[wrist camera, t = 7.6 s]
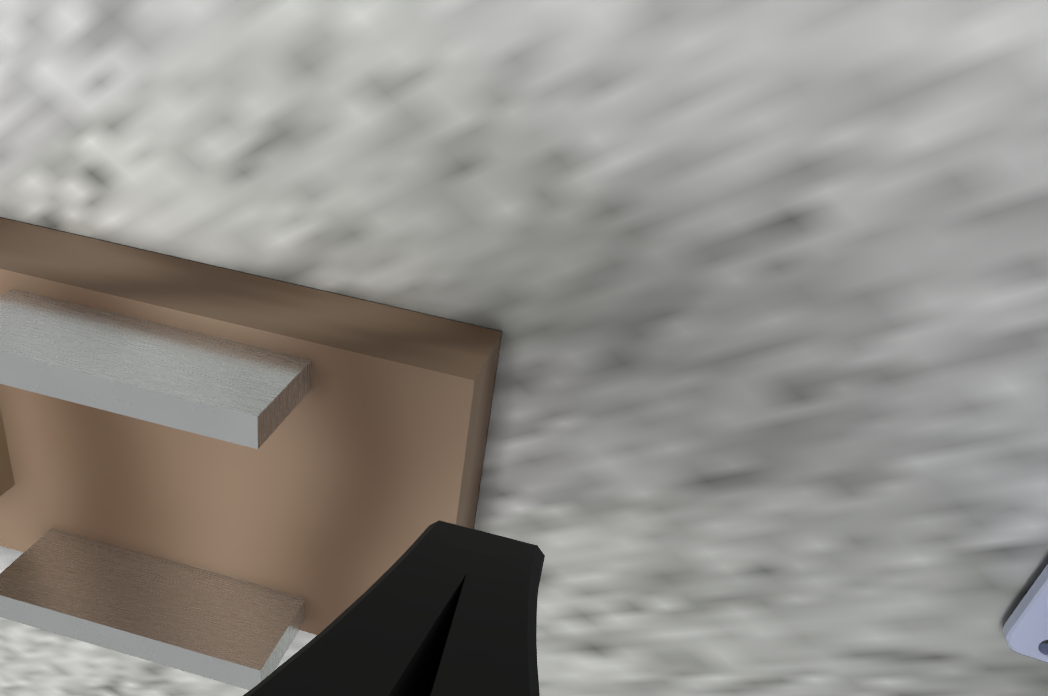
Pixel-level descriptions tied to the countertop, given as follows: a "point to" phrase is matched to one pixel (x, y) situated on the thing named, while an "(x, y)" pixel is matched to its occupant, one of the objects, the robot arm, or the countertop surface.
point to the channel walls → (171, 400)
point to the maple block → (4, 461)
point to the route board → (284, 458)
